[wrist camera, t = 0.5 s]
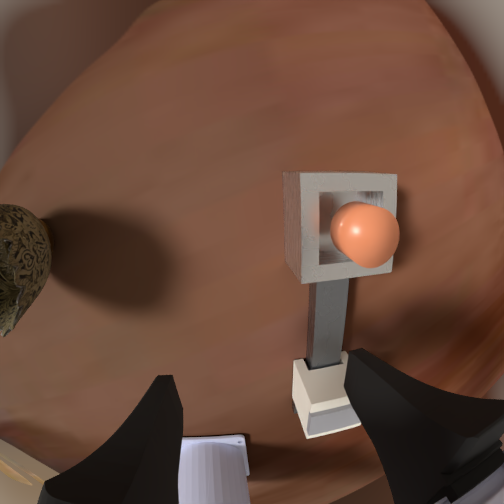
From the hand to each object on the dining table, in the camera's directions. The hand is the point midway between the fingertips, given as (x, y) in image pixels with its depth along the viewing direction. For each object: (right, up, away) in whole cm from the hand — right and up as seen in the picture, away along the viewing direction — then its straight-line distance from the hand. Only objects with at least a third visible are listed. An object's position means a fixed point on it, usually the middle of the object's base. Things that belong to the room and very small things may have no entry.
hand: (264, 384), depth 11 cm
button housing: (+5, +8, +8) cm, 12 cm away
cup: (-16, +6, +6) cm, 19 cm away
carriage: (+5, -5, +12) cm, 15 cm away
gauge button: (+5, +7, +4) cm, 9 cm away
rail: (+5, -2, +11) cm, 13 cm away
